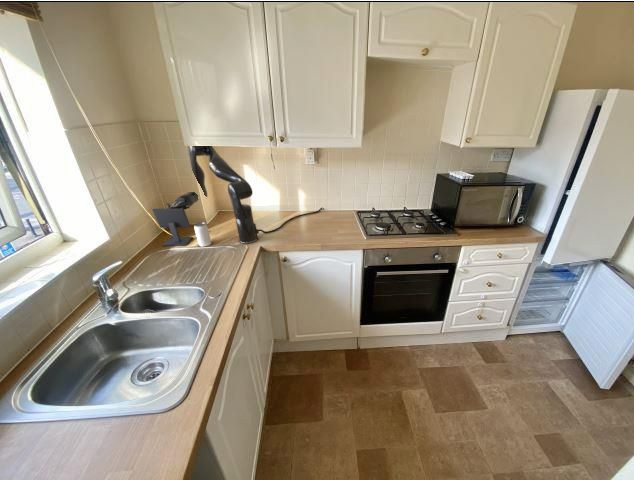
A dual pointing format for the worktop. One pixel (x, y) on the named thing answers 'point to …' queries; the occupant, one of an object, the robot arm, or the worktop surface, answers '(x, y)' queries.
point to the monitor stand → (176, 237)
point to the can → (202, 234)
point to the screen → (171, 217)
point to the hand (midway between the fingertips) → (169, 210)
